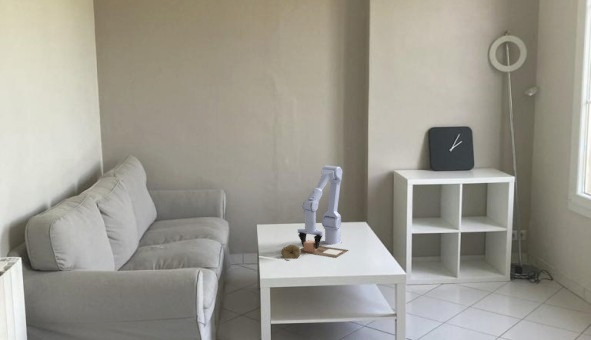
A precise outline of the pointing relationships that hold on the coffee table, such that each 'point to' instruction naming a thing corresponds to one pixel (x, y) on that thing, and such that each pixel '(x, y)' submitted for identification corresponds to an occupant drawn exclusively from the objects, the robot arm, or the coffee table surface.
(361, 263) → the coffee table surface
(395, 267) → the coffee table surface
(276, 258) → the coffee table surface
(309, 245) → the salmon pink cube
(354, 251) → the coffee table surface
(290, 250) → the fossil
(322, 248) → the post board
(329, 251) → the mat
